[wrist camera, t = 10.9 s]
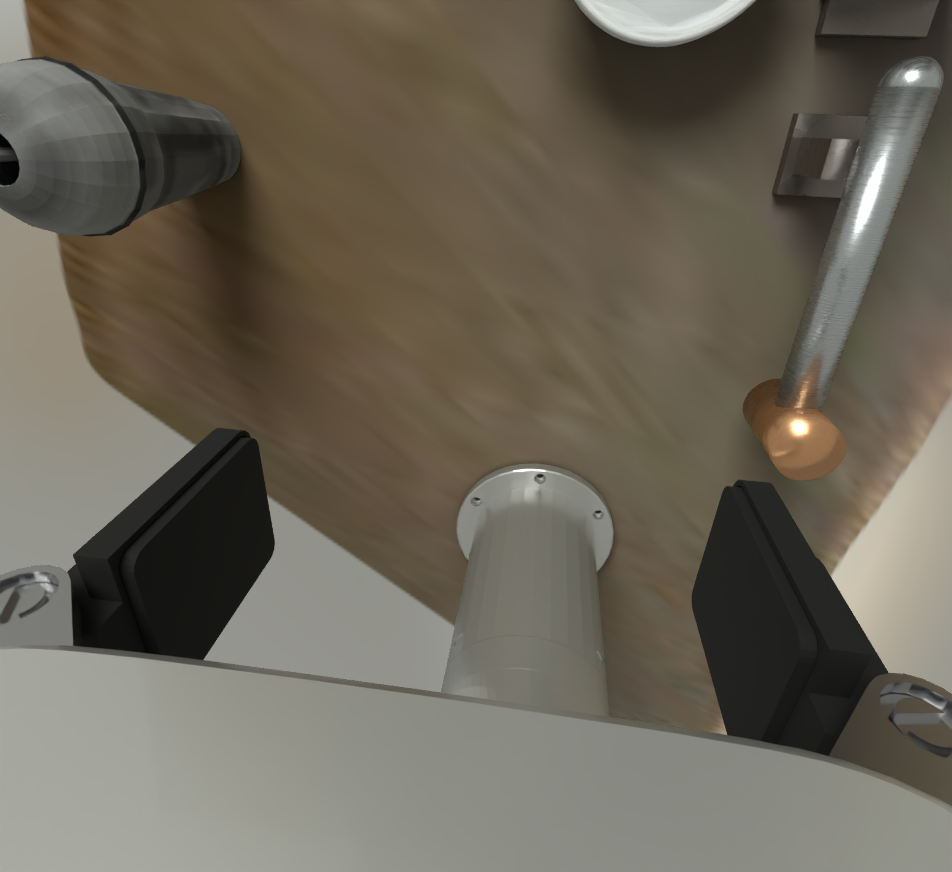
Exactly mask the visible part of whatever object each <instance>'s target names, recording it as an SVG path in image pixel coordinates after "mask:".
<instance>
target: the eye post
mask: <svg viewBox="0 0 952 872" xmlns="http://www.w3.org/2000/svg"><path fill="white" fill-rule="evenodd" d="M938 3H939V0H824V3H823V7H822V11H821V15H820V18H819V22H818V26H817V29H816V33H815V36H836V37H871V38H905V39H919V38H923V37H927V34H928V31H929V28H930V25H931V23H932V20H933V17H934V14H935V11H936V8H937V5H938Z"/></svg>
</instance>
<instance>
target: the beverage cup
mask: <svg viewBox="0 0 952 872" xmlns="http://www.w3.org/2000/svg"><path fill="white" fill-rule="evenodd" d="M240 160H241V147H240V143H239V139H238V135H237V133H236V131H235V129H234V127H233V126H232V124H231V122H230V121H229V120H228V119H227V118H226V117H225V116H224V115H223V113H221V112H220V111H218V110H217V109H215V108H214V107H212V106H209V105H205V104H201V103H199V102H197V101H193V100H189V99H186V98H181V97H177V96H173V95H169V94H164V93H160V92H156V91H151V90H147V89H143V88H139V87H134V86H130V85H126V84H121V83H117V82H113V81H109V80H107V79H105V78H104V77H101V76H99V75H96V74H94V73H92V72H89V71H87V70H83V69H80V68H78V67H77V66H75V65H74V64H72V63H69V62H65V61H61V60H58V59H54V58H50V57H47V56H44V57H36V58H28V59H21V60H18V61H15V62H7V63H2V64H0V208H1V209H2V210H4V211H6V212H7V213H9V214H11V215H12V216H14V217H16V218H18V219H19V220H21V221H23V222H25V223H27V224H29V225H31V226H34V227H38V228H41V229H45V230H48V231H52V232H56V233H60V234H63V235H84V236H103V235H112V234H114V233H116V232H118V231H120V230H122V229H124V228H125V227H127V226H129V225H130V224H131V222H132V221H134V220H136V219H138V218H139V217H141V216H143V215H144V214H146V213H147V212H149V211H151V210H154V209H157V208H159V207H162V206H165V205H167V204H170V203H173V202H176V201H178V200H181V199H184V198H186V197H189V196H192V195H194V194H197V193H200V192H202V191H205V190H208V189H210V188H212V187H214V186H216V185H218V184H220V183H223V182H225V181H227V180H228V179H230V178H231V177H232V176H233V175H234V174H235V172H236V171H237V169H238V166H239V163H240Z"/></svg>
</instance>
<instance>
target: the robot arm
mask: <svg viewBox="0 0 952 872" xmlns="http://www.w3.org/2000/svg"><path fill="white" fill-rule="evenodd" d="M539 474H542V475H539ZM613 535H614V530H613V522H612V517H611V514H610V511H609V508H608V506H607V504H606V502H605V500H604V499H603V497H602V496H601V495H600V493H599V492H598V491H597V490H596V489H595V488H594V487H593V486H592V485H591V484H590V483H588V482H587V481H586V480H584V479H583V478H582V477H580V476H578V475H576V474H574V473H572V472H570V471H568V470H565V469H562V468H559V467H556V466H552V465H545V464H518V465H513V466H508V467H505V468H502V469H499V470H497V471H494V472H492V473H490V474H489V475H487V476H485V477H484V478H482V479H481V480H479V481H478V482H477V483H476V484H475V485H474V486H473V487H472V488H471V489H470V491H469V492H468V493H467V495H466V496H465V498H464V500H463V502H462V505H461V507H460V510H459V514H458V519H457V537H458V542H459V545H460V547H461V550H462V552H463V554H464V556H465V557H466V559H467V560H468V565H467V570H466V575H465V580H464V585H463V590H462V594H461V599H460V604H459V609H458V614H457V619H456V623H455V628H454V633H453V638H452V644H451V648H450V652H449V658H448V662H447V667H446V672H445V675H444V680H443V685H442V690H441V693H440V692H432V691H426V690H419V689H412V688H404V687H397V686H389V685H383V684H375V683H368V682H361V681H354V680H346V679H339V678H332V677H324V676H317V675H310V674H302V673H295V672H288V671H280V670H272V669H265V668H257V667H250V666H243V665H235V664H228V663H220V662H212V661H205V660H203V659H204V658H205V656H206V655H207V653H208V652H209V650H210V649H211V647H212V646H213V644H214V643H215V641H216V640H217V638H218V637H219V635H220V634H221V632H222V631H223V629H224V628H225V626H226V625H227V623H228V622H229V620H230V619H231V617H232V616H233V614H234V613H235V611H236V610H237V608H238V607H239V605H240V604H241V602H242V601H243V599H244V598H245V596H246V595H247V593H248V592H249V590H250V589H251V587H252V586H253V584H254V583H255V581H256V580H257V578H258V576H259V575H260V574H261V572H262V570H263V569H264V568H265V566H266V564H267V563H268V562H269V560H270V558H271V557H272V554H273V551H274V545H275V541H274V534H273V528H272V522H271V517H270V511H269V505H268V499H267V493H266V487H265V481H264V476H263V470H262V464H261V458H260V452H259V446H258V443H257V441H256V440H255V439H254V438H251V437H250V435H249V433H248V432H246V431H243V430H233V429H223V428H217V429H215V430H213V431H212V432H211V433H210V434H209V435H208V436H207V437H206V438H204V439H203V440H202V441H201V442H200V443H199V444H198V445H197V446H195V447H194V448H193V449H192V450H191V451H190V452H189V453H187V454H186V455H185V456H184V457H183V458H182V459H181V460H180V461H178V462H177V463H176V464H175V465H174V466H173V467H172V468H170V469H169V470H168V471H167V472H166V473H165V474H164V475H163V476H162V477H160V478H159V479H158V480H157V481H156V482H155V483H154V484H152V485H151V486H150V487H149V488H148V489H147V490H146V491H145V492H143V493H142V494H141V495H140V496H139V497H138V498H137V499H135V500H134V501H133V502H132V503H131V504H130V505H129V506H128V507H126V508H125V509H124V510H123V511H122V512H121V513H120V514H118V515H117V516H116V517H115V518H114V519H113V520H112V521H111V522H110V523H108V524H107V525H106V526H105V527H104V528H103V529H102V530H100V531H99V532H98V533H97V534H96V535H95V536H94V537H92V538H91V539H90V540H89V541H88V542H87V543H86V544H85V545H83V546H82V547H81V548H80V549H79V550H78V551H77V552H76V553H75V554H73V557H74V559H75V562H76V565H74V566H73V567H72V568H71V569H70V570H69V571H68V572H66V571H64V570H63V569H62V568H60V567H54V566H50V565H41V566H31V567H26V568H21V569H17V570H14V571H11V572H8V573H5V574H3V575H0V872H952V694H951V693H949V692H948V691H946V690H945V689H943V688H942V687H939V686H937V685H935V684H933V683H931V682H929V681H926V680H924V679H922V678H918V677H914V676H911V675H907V674H898V673H888V671H887V669H886V668H885V666H884V664H883V663H882V661H881V659H880V658H879V656H878V654H877V653H876V651H875V649H874V648H873V646H872V644H871V643H870V641H869V640H868V638H867V636H866V634H865V633H864V631H863V630H862V628H861V626H860V624H859V623H858V621H857V620H856V618H855V616H854V615H853V613H852V611H851V610H850V608H849V606H848V605H847V603H846V601H845V600H844V598H843V597H842V595H841V593H840V591H839V590H838V588H837V586H836V585H835V583H834V581H833V580H832V578H831V576H830V575H829V573H828V571H827V570H826V568H825V566H824V565H823V564H822V562H821V561H820V560H819V559H818V558H816V557H815V555H814V553H813V552H812V550H811V548H810V547H809V545H808V543H807V542H806V540H805V538H804V537H803V535H802V533H801V532H800V530H799V528H798V527H797V525H796V523H795V521H794V520H793V518H792V516H791V515H790V513H789V511H788V510H787V508H786V506H785V505H784V503H783V501H782V500H781V498H780V496H779V495H778V493H777V491H776V490H775V488H774V486H773V485H772V484H771V483H766V482H756V481H746V480H738V481H736V483H735V484H734V486H733V487H731V486H727V487H725V488H724V490H723V493H722V496H721V499H720V502H719V505H718V509H717V512H716V515H715V519H714V522H713V525H712V528H711V532H710V535H709V538H708V542H707V545H706V548H705V551H704V555H703V558H702V561H701V565H700V568H699V571H698V574H697V578H696V581H695V584H694V588H693V592H692V608H693V612H694V616H695V620H696V623H697V627H698V630H699V634H700V638H701V641H702V645H703V648H704V652H705V656H706V659H707V663H708V666H709V670H710V674H711V677H712V681H713V685H714V688H715V692H716V695H717V699H718V703H719V706H720V710H721V713H722V717H723V721H724V724H725V728H726V732H727V735H723V734H717V733H711V732H705V731H698V730H692V729H685V728H679V727H673V726H667V725H661V724H654V723H648V722H641V721H634V720H628V719H621V718H614V717H609V706H608V695H607V683H606V671H605V659H604V648H603V636H602V624H601V613H600V601H599V590H598V578H597V571H598V570H599V569H600V568H601V567H602V566H603V565H604V563H605V561H606V560H607V558H608V557H609V554H610V551H611V548H612V545H613Z"/></svg>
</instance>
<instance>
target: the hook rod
mask: <svg viewBox="0 0 952 872" xmlns="http://www.w3.org/2000/svg"><path fill="white" fill-rule="evenodd" d="M943 81H944V74H943V70H942V67H941V65H940V64H939V63H938V62H937V61H936V60H935V59H933V58H931V57H928V56H912V57H909V58H906V59H904V60H901V61H900V62H898V63H896V64H895V65H894V66H892V67H891V68H890V69H889V70H888V71H887V72H886V73H885V74H884V76H883V77H882V79H881V80H880V82H879V84H878V87H877V89H876V92H875V95H874V98H873V102H872V105H871V108H870V111H869V114H868V117H867V120H866V123H865V126H864V129H863V132H862V135H861V138H860V141H859V144H858V147H857V150H856V153H855V157H854V160H853V163H852V166H851V169H850V172H849V175H848V178H847V181H846V184H845V187H844V190H843V193H842V196H841V199H840V202H839V205H838V208H837V212H836V215H835V218H834V221H833V224H832V227H831V230H830V233H829V236H828V239H827V242H826V245H825V248H824V251H823V254H822V257H821V260H820V264H819V267H818V270H817V273H816V276H815V279H814V282H813V285H812V288H811V291H810V294H809V297H808V300H807V303H806V306H805V309H804V312H803V315H802V319H801V322H800V325H799V328H798V331H797V334H796V337H795V340H794V343H793V346H792V349H791V352H790V355H789V358H788V361H787V364H786V367H785V370H784V374H783V377H782V379H772V380H768V381H765V382H763V383H761V384H759V385H757V386H756V387H754V388H753V389H752V390H751V391H750V392H749V393H748V395H747V396H746V398H745V400H744V403H743V415H744V417H745V419H746V421H747V422H748V424H749V426H750V427H751V429H752V430H753V432H754V433H755V435H756V437H757V438H758V440H759V441H760V443H761V444H762V446H763V448H764V449H765V451H766V452H767V454H768V455H769V457H770V459H771V460H772V462H773V463H774V465H775V466H776V468H777V470H778V471H779V472H780V473H781V474H782V475H784V476H786V477H787V478H790V479H793V480H798V481H808V480H814V479H818V478H820V477H823V476H825V475H827V474H829V473H830V472H832V471H833V470H834V469H835V468H836V467H837V466H838V465H839V464H840V463H841V461H842V460H843V458H844V456H845V453H846V441H845V438H844V436H843V435H842V433H841V432H840V431H839V430H838V429H837V428H836V427H835V426H834V425H833V423H832V422H831V421H830V420H829V419H828V418H827V417H826V416H825V415H824V414H823V413H822V412H821V409H822V406H823V404H824V401H825V398H826V396H827V393H828V390H829V388H830V385H831V382H832V380H833V377H834V374H835V372H836V369H837V366H838V364H839V361H840V358H841V356H842V353H843V350H844V348H845V345H846V342H847V340H848V337H849V334H850V332H851V329H852V326H853V324H854V321H855V318H856V316H857V313H858V310H859V308H860V305H861V302H862V300H863V297H864V294H865V292H866V289H867V286H868V284H869V281H870V278H871V276H872V273H873V270H874V268H875V265H876V262H877V260H878V257H879V254H880V252H881V249H882V246H883V244H884V241H885V238H886V236H887V233H888V230H889V228H890V225H891V222H892V220H893V217H894V214H895V212H896V209H897V206H898V204H899V201H900V198H901V196H902V193H903V190H904V188H905V185H906V182H907V180H908V177H909V174H910V172H911V169H912V166H913V164H914V161H915V158H916V156H917V153H918V150H919V148H920V145H921V142H922V140H923V137H924V134H925V132H926V129H927V126H928V124H929V121H930V118H931V115H932V113H933V110H934V107H935V105H936V102H937V99H938V97H939V94H940V91H941V89H942V86H943Z"/></svg>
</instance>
